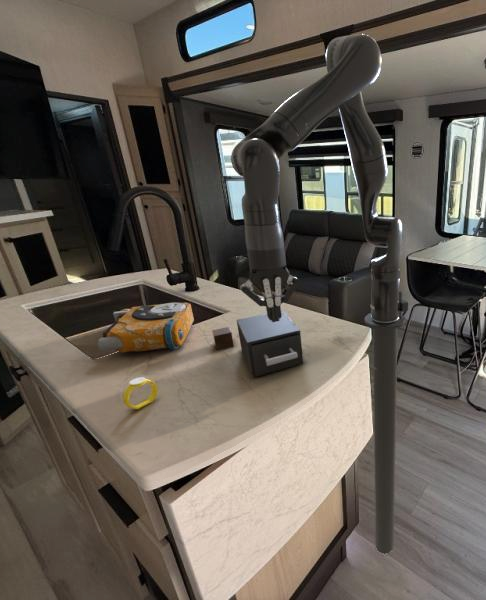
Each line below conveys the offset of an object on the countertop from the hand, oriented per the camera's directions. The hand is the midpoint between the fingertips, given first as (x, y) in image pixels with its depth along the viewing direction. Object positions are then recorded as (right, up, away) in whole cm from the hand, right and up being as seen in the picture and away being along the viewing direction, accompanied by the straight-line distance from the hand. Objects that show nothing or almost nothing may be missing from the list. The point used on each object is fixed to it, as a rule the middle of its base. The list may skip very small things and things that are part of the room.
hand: (275, 320), depth 73 cm
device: (-46, -7, +25) cm, 53 cm away
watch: (-26, -18, -5) cm, 32 cm away
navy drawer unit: (-6, -11, +14) cm, 18 cm away
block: (-22, -8, +20) cm, 30 cm away
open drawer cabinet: (-4, -11, +10) cm, 15 cm away
